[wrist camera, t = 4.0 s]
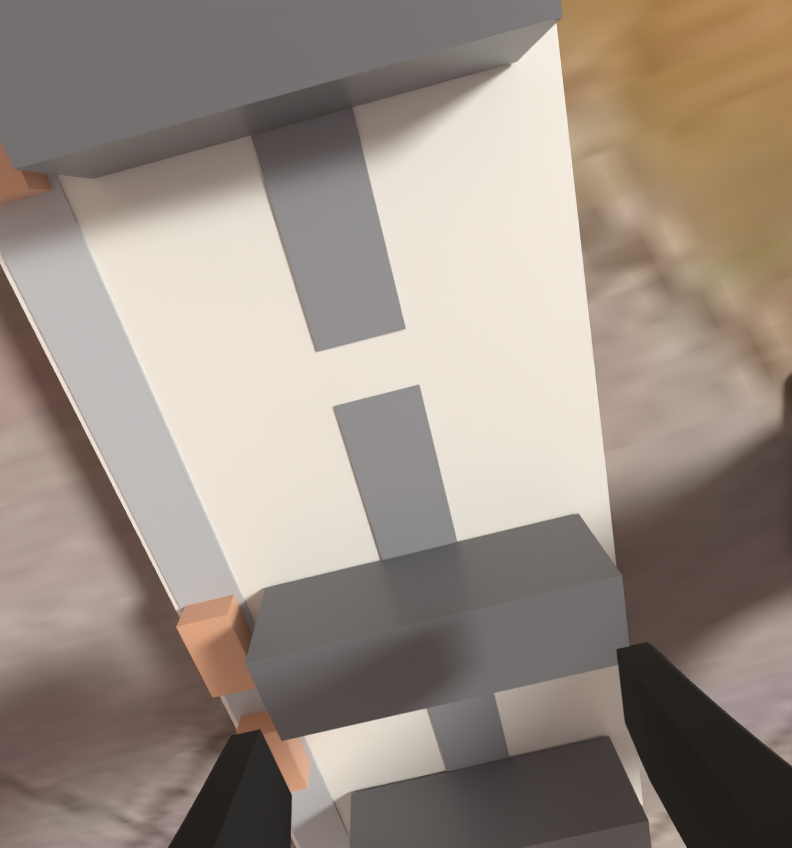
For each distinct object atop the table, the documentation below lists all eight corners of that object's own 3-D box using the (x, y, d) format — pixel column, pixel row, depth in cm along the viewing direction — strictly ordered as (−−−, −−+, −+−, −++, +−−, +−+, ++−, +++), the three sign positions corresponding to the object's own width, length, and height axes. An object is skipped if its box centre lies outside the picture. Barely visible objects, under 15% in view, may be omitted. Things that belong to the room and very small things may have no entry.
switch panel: (504, -153, 12) (545, -260, 9) (621, 757, 24) (655, 830, 21) (-69, 15, 13) (-190, -39, 10) (315, 824, 24) (308, 904, 21)
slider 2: (609, 736, 20) (648, 820, 17) (616, 788, 21) (654, 875, 18) (351, 793, 21) (348, 884, 18) (371, 841, 22) (372, 934, 19)
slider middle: (578, 513, 16) (621, 575, 14) (589, 590, 18) (631, 661, 15) (264, 588, 17) (245, 662, 14) (294, 659, 18) (281, 741, 15)
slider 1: (493, -108, 11) (537, -219, 8) (517, 61, 12) (562, 16, 9) (28, 26, 11) (-82, -34, 9) (92, 178, 12) (13, 169, 10)
